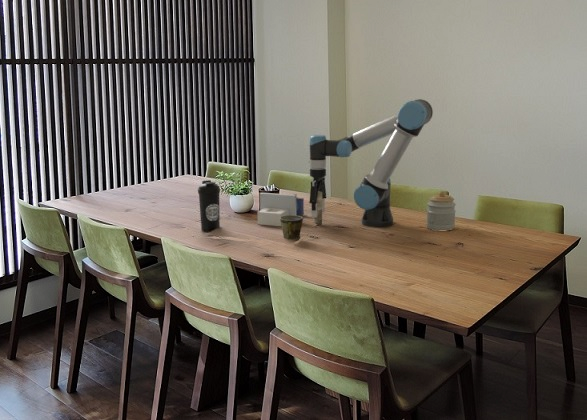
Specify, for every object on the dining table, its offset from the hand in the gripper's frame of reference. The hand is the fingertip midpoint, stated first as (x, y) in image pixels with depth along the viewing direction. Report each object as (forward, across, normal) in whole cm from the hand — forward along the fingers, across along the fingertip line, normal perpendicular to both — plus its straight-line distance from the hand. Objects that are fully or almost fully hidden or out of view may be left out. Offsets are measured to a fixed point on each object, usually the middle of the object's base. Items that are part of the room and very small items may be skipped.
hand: (318, 214), depth 335 cm
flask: (+6, -17, -18) cm, 25 cm away
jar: (+5, -12, +56) cm, 58 cm away
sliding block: (+4, +7, -20) cm, 22 cm away
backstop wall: (+5, +12, -20) cm, 24 cm away
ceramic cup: (+5, +30, -2) cm, 30 cm away
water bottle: (+6, +24, -45) cm, 51 cm away
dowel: (+5, 0, 0) cm, 5 cm away
